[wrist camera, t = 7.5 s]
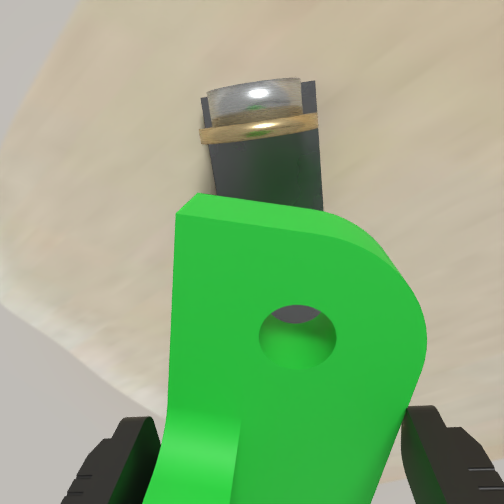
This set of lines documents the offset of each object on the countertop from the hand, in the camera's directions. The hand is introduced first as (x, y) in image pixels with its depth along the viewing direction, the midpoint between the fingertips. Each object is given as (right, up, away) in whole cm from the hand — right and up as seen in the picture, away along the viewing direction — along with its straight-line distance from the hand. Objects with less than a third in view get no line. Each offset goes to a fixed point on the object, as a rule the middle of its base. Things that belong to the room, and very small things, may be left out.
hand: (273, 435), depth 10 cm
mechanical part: (0, +1, +2) cm, 2 cm away
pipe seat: (+1, +5, +12) cm, 13 cm away
